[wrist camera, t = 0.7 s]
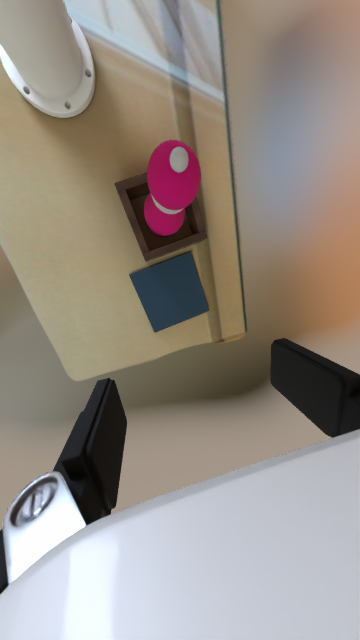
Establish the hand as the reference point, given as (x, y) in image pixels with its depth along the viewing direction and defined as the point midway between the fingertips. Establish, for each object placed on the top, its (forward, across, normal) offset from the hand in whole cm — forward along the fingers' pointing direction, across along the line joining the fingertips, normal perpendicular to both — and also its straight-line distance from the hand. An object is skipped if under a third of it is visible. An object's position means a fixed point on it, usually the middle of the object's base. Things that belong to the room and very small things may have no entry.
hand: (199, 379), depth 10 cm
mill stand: (+30, -3, -16) cm, 34 cm away
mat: (+30, -3, -1) cm, 30 cm away
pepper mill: (+30, -3, -16) cm, 34 cm away
